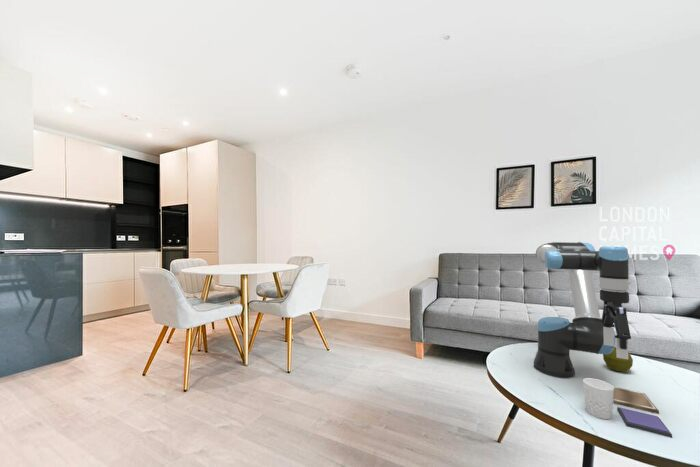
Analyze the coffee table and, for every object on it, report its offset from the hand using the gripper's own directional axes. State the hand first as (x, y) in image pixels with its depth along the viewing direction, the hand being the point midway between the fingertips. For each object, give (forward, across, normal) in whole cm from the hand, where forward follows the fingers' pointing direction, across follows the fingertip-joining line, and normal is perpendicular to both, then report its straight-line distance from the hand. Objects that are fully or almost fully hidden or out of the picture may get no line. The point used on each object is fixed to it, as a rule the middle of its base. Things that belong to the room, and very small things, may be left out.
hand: (615, 351), depth 98 cm
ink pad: (+20, -5, -5) cm, 21 cm away
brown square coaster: (+20, +11, -6) cm, 24 cm away
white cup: (+20, -5, +6) cm, 22 cm away
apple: (+20, +41, -11) cm, 47 cm away
